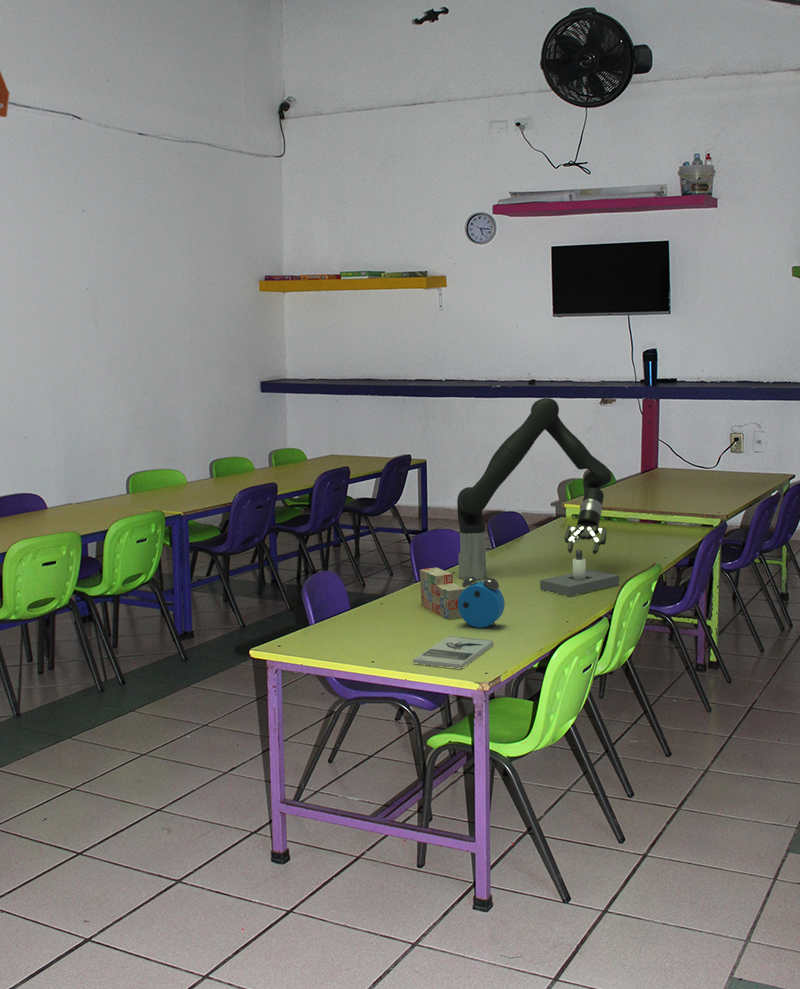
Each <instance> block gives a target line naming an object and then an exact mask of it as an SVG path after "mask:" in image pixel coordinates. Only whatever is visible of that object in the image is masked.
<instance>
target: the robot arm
mask: <svg viewBox="0 0 800 989" xmlns="http://www.w3.org/2000/svg"><path fill="white" fill-rule="evenodd" d="M559 413H560V408H559V404H558V402H557V401H556V400H554V399H553V398H550V397H543V398H540V399H538V400H536V401H535V402H534V403H533V404H532V405H531V408H530V413H529V415H528V416H527V418H526V419H525V420H524V422H523V423H522V424H521V425H520V426H519V427H518V428H517V429H516V430H515V431H514V432H513V433H511V435H509V436H508V437H507V438H506V439H505V440H504V441H503V443H501V445H500V446H499V447H498V449H496V451H495V452H494V454H493V455H492V457H491V459H490V460H489V463H488V465H487V467H486V469H485V472H484V473H483V474H482V475H481V478H479V480H478V481H476V483H475V484H474V485H473V486H472V487H471V486H467V487H465V488H463V489H461V490H460V491H459V493H458V495H457V498H456V500H457V502H456V505H457V521H458V525H459V526H458V527H459V540H460V542H459V543H460V545H459V547H460V548H459V549H460V552H458V554H457V555H458V578H459V579H461V580H465V579H466V577H467V578H468V577H475V578H476V579H477V580H478V581H480V580H479V579H482V580H483V579H484V580H485V579H487V556H486V555H487V553H486V549H487V548H486V524H485V521H484V518H483V511H484V509H485V508H486V507H487V505H488V504H489V502H490V501H491V499H492V497H493V496H494V494H495V493H496V492H497V490H498V489H499V487H500V486H501V485H502V484H503V483H504V482H505V481H506V480H507V478H508V477H509V476H510V475H511V474H512V473H513V471H514V470H515V469H516V468H517V467H518V465H519V464H520V463H521V462H522V460H523V459H524V458H525V456H527V454H528V452H529V451H530V449H531V448H532V446H533V445H534V443H535V442H536V441H537V439H538V438H539V437H540V435H542V433H543V432H544V431H546V432H547V433H548V434H549V435H550V436H551V437H552V438H553V439H554V441H555V442H556V443H557V444H558V445H559V447H560V448H561V449H562V451H563V452H564V453H565V455H566V456H567V457H568V458H569V460H570V461H571V463H572V464H574V467H576V469H578V470H588V472H587V473H586V474H585V475H584V477H583V480H582V481H583V482H582V483H583V484H582V486H583V487H582V488H583V497H582V503H581V505H580V509H579V514H578V518H577V523H576V526H575V527H574V526H571V525H570V524H569V525H567V527H566V529H565V534H564V536H563V538H564V541H565V543H566V544H567V546H566V547H567V551H568V552H569V554H573V549H574V544H575V543H576V542H579V541H580V540H587V541H589V540H590V541H591V540H592V541H593V543H594V544H593V548H592V553H593V555H597V553H598V552H599V549H600V545H603V546H604V545H606V541H607V534H608V533H607V532H608V531H607V529H606V528H607V527H606V526H602V527H599V526H600V521H601V517H602V508H603V502H604V497H605V496H604V492H603V491H602V490H601V488H603V487H604V486H607V485H608V484H609V483H611V481H612V473H611V471H610V469H609V468H608V467H607V466H606V465H605V464H604V463H603V462H601V461H600V460H599V459H597V458H596V457H595V456H593V455H592V454H591V452H590V451H589V450H588V448H586V446H585V445H584V443H583V442H582V441H581V440H580V439H579V438H578V437H577V436H576V435H574V434H573V432H572V431H570V429H568V427H567V426H566V425H565V424H564V423H563V421H562V420H561V418H560V417H559ZM599 533H600V539H599V538H598V537H597V535H598V534H599Z"/></svg>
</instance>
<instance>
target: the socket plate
mask: <svg viewBox="0 0 800 989" xmlns="http://www.w3.org/2000/svg"><path fill="white" fill-rule="evenodd" d="M618 586H620V576H619V575H618V574H614V573H609V572H605V571H599V570H594V569H589V568H588V569H586V579H585V580H581V581H579V580H574V579H573V572H570V573H566V574H563V575H557V576H553V577H549V578H548V577H547V578H544V579H539V587H540V588H539V589H541V590H540V591H542V590H545V591H544V592H546V591H549V592H548V593H550V592H553V593H552V594H555V593H558V594H557V595H559V594H562V595H561V596H563V595H566V596H565V597H567V596H572V597H574V596H573V595H576V594H580V595H582V594H581V593H585V592H588V591H593V590H597V591H599V590H598V589H601V590H604V589H603V588H606V589H609V587H610V588H614V587H618ZM593 592H594V591H593ZM585 594H586V593H585ZM576 596H577V595H576Z"/></svg>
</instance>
